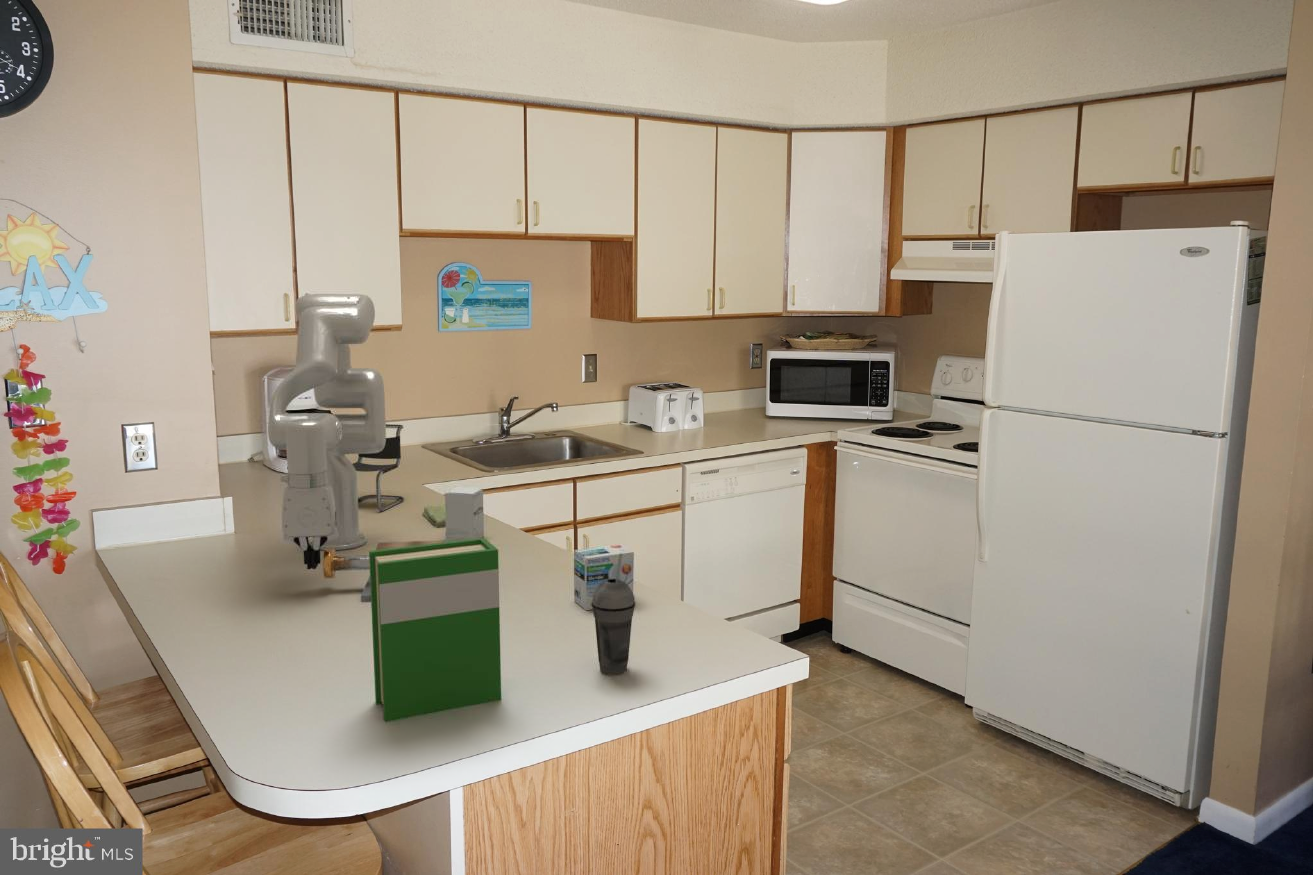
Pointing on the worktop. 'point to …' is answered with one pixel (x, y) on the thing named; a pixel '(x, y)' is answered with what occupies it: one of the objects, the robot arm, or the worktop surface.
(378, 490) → the chair
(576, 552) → the light bulb box
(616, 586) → the beverage cup
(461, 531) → the supplement box
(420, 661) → the hardback book
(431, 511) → the washcloth
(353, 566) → the shaft
